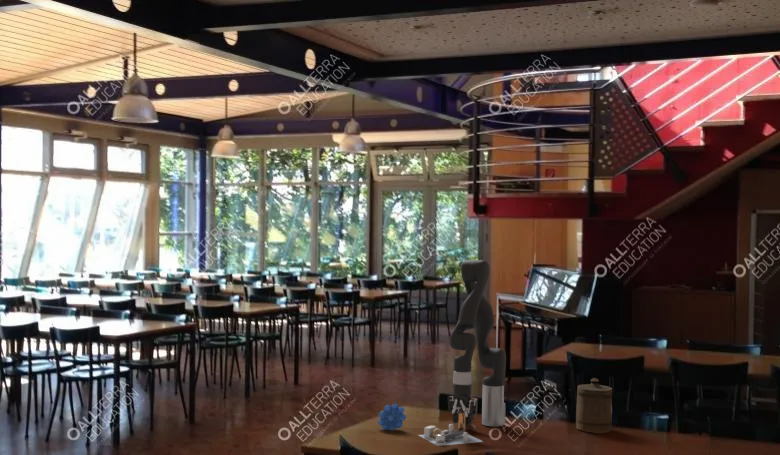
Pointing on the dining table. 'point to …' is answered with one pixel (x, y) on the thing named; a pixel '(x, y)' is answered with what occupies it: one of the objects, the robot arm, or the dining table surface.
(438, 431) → the hazelnut
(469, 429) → the mortar and pestle
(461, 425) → the lever
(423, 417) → the dining table surface
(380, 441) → the dining table surface
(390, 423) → the blue lumpy cluster
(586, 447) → the dining table surface
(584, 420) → the wooden container
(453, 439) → the nutcracker base
